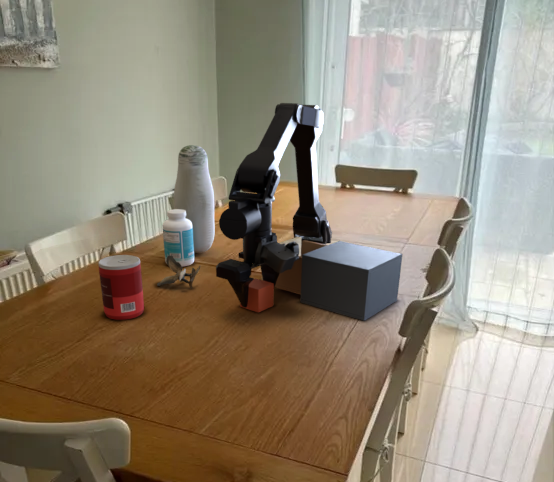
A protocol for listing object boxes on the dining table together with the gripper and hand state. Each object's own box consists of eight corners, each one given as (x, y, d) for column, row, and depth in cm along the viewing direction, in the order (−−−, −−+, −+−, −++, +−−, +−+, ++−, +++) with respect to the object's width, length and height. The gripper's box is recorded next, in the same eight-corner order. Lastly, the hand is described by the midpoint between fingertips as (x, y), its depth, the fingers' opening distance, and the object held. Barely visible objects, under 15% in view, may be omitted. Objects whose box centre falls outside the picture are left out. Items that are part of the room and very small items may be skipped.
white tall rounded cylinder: (170, 252, 150) (163, 145, 138) (198, 245, 157) (193, 142, 146) (195, 259, 144) (189, 148, 133) (222, 251, 151) (220, 145, 140)
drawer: (247, 282, 126) (247, 244, 122) (282, 268, 136) (283, 233, 132) (314, 301, 116) (316, 261, 112) (347, 285, 125) (350, 247, 122)
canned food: (151, 308, 113) (147, 257, 108) (130, 323, 106) (124, 268, 101) (119, 303, 115) (114, 252, 110) (96, 317, 108) (89, 263, 104)
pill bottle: (189, 257, 146) (187, 206, 140) (198, 265, 140) (195, 212, 134) (161, 261, 143) (158, 209, 137) (169, 269, 137) (165, 215, 131)
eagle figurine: (203, 276, 128) (169, 265, 130) (199, 257, 122) (163, 245, 124) (188, 301, 125) (153, 289, 126) (184, 283, 119) (147, 271, 120)
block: (240, 306, 115) (239, 284, 113) (255, 300, 118) (255, 278, 116) (258, 312, 112) (258, 289, 110) (273, 305, 115) (273, 283, 113)
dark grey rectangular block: (300, 302, 117) (302, 254, 113) (336, 284, 128) (339, 240, 124) (364, 321, 109) (368, 270, 105) (397, 300, 120) (402, 253, 115)
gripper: (258, 244, 97) (258, 325, 103) (317, 226, 111) (313, 298, 117) (212, 234, 103) (215, 310, 110) (273, 217, 117) (272, 286, 123)
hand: (256, 301), depth 115 cm, fingers open, 8 cm apart
